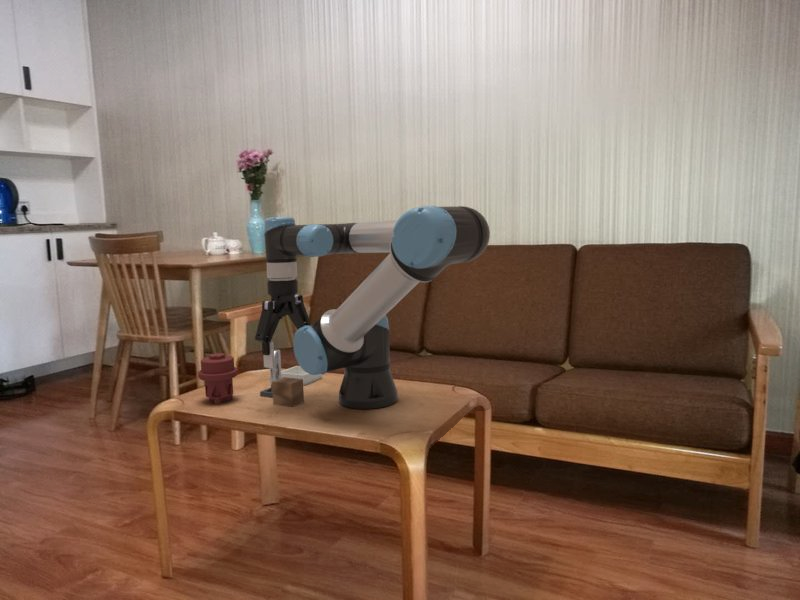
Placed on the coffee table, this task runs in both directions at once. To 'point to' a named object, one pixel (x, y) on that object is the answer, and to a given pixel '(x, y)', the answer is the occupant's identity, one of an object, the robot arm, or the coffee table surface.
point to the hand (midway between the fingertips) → (286, 361)
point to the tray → (300, 375)
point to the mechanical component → (218, 376)
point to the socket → (266, 393)
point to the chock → (288, 391)
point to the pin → (276, 368)
